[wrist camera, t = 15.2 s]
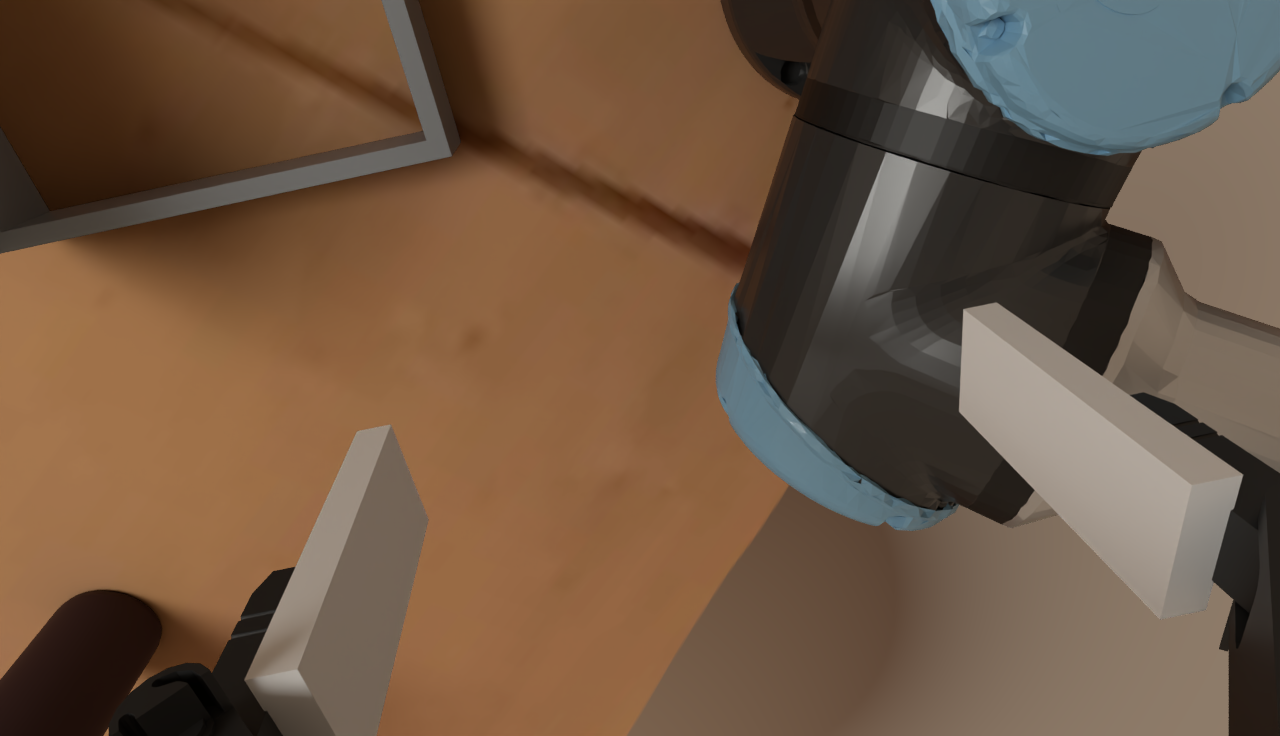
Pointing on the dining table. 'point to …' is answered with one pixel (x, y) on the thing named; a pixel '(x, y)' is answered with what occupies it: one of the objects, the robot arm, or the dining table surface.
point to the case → (18, 217)
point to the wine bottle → (79, 667)
